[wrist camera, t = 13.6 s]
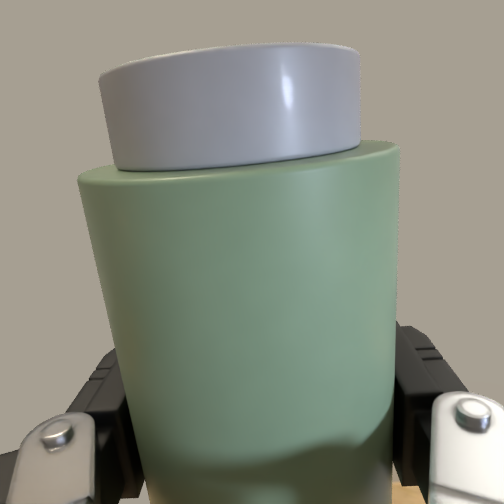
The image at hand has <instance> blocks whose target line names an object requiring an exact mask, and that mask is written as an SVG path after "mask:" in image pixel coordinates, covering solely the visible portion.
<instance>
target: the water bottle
mask: <svg viewBox="0 0 504 504" xmlns="http://www.w3.org/2000/svg"><path fill="white" fill-rule="evenodd" d="M98 82H99V87H100V92H101V97H102V102H103V107H104V112H105V118H106V123H107V128H108V133H109V138H110V143H111V149H112V153H113V159H114V164H113V165H108V166H103V167H99V168H95V169H92V170H89V171H86V172H84V173H82V174H80V175H79V176H78V186H79V191H80V195H81V199H82V204H83V208H84V213H85V217H86V221H87V226H88V230H89V235H90V239H91V243H92V248H93V252H94V257H95V261H96V266H97V270H98V274H99V278H100V283H101V288H102V292H103V297H104V301H105V305H106V309H107V314H108V319H109V323H110V327H111V332H112V336H113V341H114V345H115V349H116V354H117V358H118V363H119V367H120V372H121V376H122V380H123V385H124V389H125V394H126V398H127V402H128V407H129V411H130V416H131V420H132V425H133V429H134V433H135V438H136V442H137V447H138V451H139V455H140V460H141V464H142V469H143V473H144V477H145V482H146V486H147V490H148V495H149V500H150V504H392V464H393V423H394V381H395V339H396V296H397V255H398V254H397V253H398V213H399V212H398V211H399V171H400V149H399V146H398V145H397V144H394V143H391V142H386V141H373V140H371V141H370V140H361V138H360V137H361V132H360V55H359V53H358V52H357V51H356V50H354V49H352V48H349V47H345V46H341V45H335V44H326V43H325V44H324V43H306V42H303V43H302V42H293V43H292V42H287V43H286V42H285V43H258V44H243V45H231V46H221V47H211V48H204V49H195V50H188V51H182V52H175V53H169V54H164V55H158V56H153V57H148V58H143V59H139V60H135V61H131V62H128V63H125V64H121V65H119V66H116V67H113V68H111V69H109V70H107V71H105V72H104V73H102V74H101V75H100V77H99V81H98Z"/></svg>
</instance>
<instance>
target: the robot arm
mask: <svg viewBox="0 0 504 504" xmlns="http://www.w3.org/2000/svg"><path fill="white" fill-rule="evenodd" d="M393 463H394V466H395V469H396V471H397V474H398V477H399V479H400V482H401V485H402V486H419V488H420V491H421V493H422V495H423V498H424V500H425V502H426V504H504V406H502V405H501V404H499V403H498V402H496V401H494V400H492V399H490V398H487V397H485V396H482V395H479V394H476V393H471V392H469V391H468V390H467V388H466V387H465V386H464V385H463V383H462V382H461V381H460V379H459V378H458V377H457V375H456V374H455V373H454V371H453V370H452V369H451V367H450V366H449V365H448V364H447V362H446V361H445V360H443V357H442V355H441V354H440V353H439V352H438V350H437V349H435V346H434V345H433V343H431V341H430V340H429V338H428V337H427V336H426V335H425V334H423V333H422V332H420V331H418V330H417V329H415V328H413V327H412V326H402V327H400V325H399V324H398V322H397V321H396V339H395V381H394V423H393ZM144 480H145V477H144V473H143V469H142V464H141V460H140V455H139V451H138V447H137V442H136V438H135V433H134V429H133V425H132V420H131V416H130V411H129V407H128V402H127V398H126V394H125V389H124V385H123V380H122V376H121V372H120V367H119V363H118V358H117V354H116V349H115V348H114V349H113V350H112V351H110V352H109V353H108V354H106V355H105V356H104V357H103V359H102V360H101V362H100V363H99V364H98V366H97V367H96V371H94V372H93V373H92V375H91V376H90V378H89V381H87V382H86V383H85V385H84V386H83V388H82V389H81V391H80V392H79V393H78V395H77V396H76V398H75V399H74V401H73V402H72V404H71V405H70V406H69V408H68V409H67V411H66V412H65V413H64V414H61V415H57V416H55V417H52V418H50V419H48V420H46V421H45V422H43V423H41V424H39V425H38V426H37V427H35V428H34V429H33V430H32V431H31V432H30V433H29V434H28V435H27V436H26V437H25V438H24V440H23V441H22V443H21V445H20V448H19V449H18V450H15V451H12V452H8V453H5V454H1V455H0V504H118V503H119V500H120V499H123V498H138V497H139V495H140V492H141V489H142V486H143V483H144Z"/></svg>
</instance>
